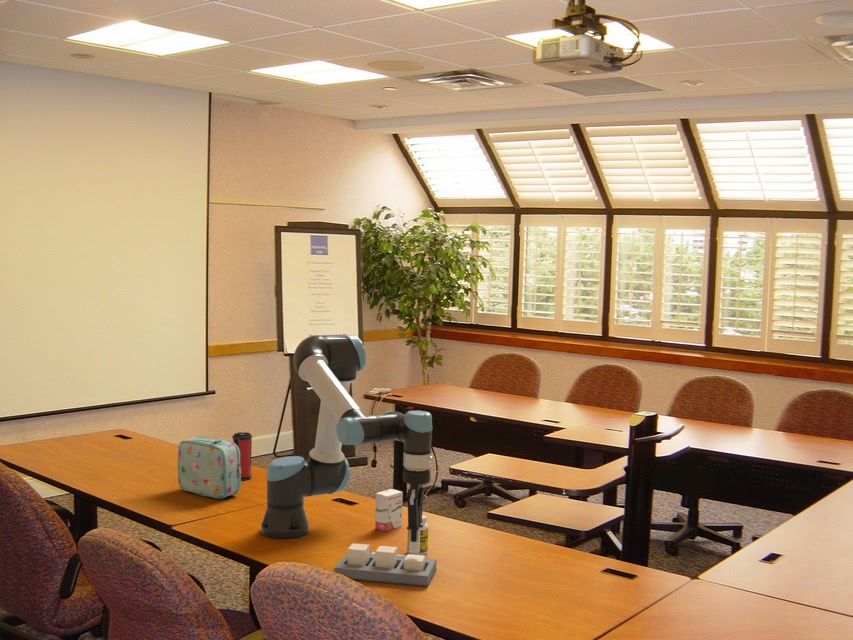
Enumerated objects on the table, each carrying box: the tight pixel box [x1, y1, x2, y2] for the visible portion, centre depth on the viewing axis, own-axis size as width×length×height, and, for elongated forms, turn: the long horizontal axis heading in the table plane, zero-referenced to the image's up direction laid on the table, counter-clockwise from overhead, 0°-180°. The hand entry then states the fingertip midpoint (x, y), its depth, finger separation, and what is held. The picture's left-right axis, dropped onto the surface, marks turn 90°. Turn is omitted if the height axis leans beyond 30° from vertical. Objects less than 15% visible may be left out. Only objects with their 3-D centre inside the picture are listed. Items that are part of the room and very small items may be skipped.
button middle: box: [375, 545, 398, 568], centre depth 238 cm, size 5×5×4 cm
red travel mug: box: [231, 431, 253, 481], centre depth 340 cm, size 8×8×18 cm
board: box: [333, 551, 437, 588], centre depth 238 cm, size 26×14×3 cm, turn 80°
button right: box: [404, 553, 426, 571], centre depth 236 cm, size 5×5×4 cm
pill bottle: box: [406, 514, 429, 556], centre depth 256 cm, size 6×6×11 cm
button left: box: [347, 543, 371, 566], centre depth 239 cm, size 5×5×4 cm
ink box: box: [374, 488, 404, 532], centre depth 281 cm, size 9×5×12 cm, turn 142°
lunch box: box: [177, 435, 242, 500], centre depth 316 cm, size 27×10×21 cm, turn 58°
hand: (414, 551), depth 237 cm, fingers closed
